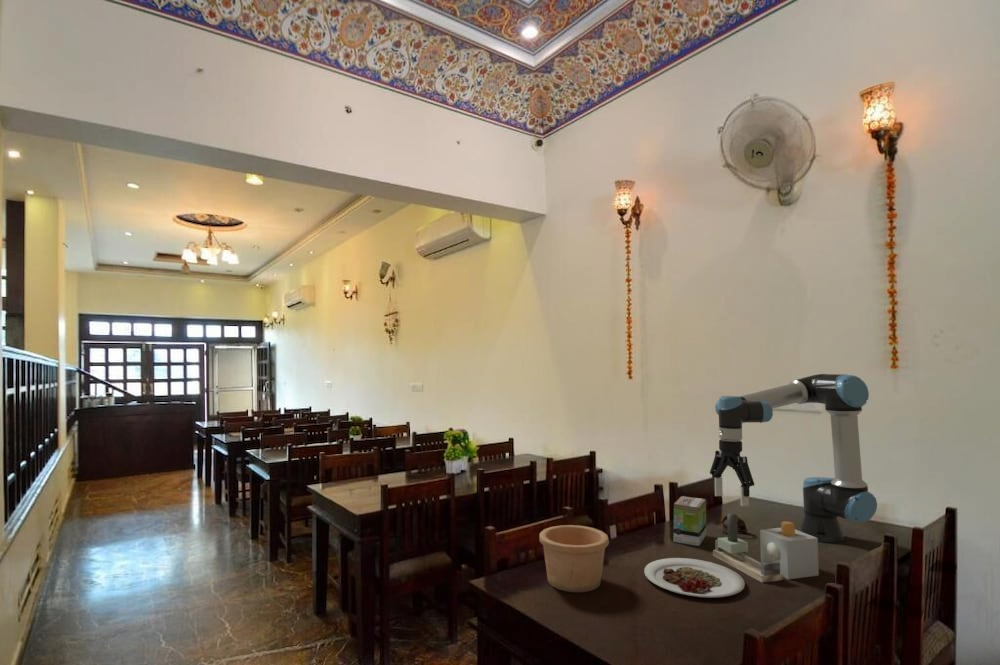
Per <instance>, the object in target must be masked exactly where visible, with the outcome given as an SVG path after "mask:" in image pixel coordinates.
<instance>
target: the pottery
mask: <svg viewBox="0 0 1000 665" xmlns="http://www.w3.org/2000/svg"><path fill="white" fill-rule="evenodd" d="M538 537H539V539H538V540H539V541H538V542H539V543H540V544H541V545H542V546H543V556H544V561H545V567H546V568H545V570H546V578H547V582H548V584H549V585H550V586H551V587H553V588H555V589H557V590H559V591H563V592H568V593H575V594H576V593H588V592H592V591H594V590H596V589H598V588H599V587H600V585H601V584H602V583H601V582H602V581H601V580H602V575H603V574H602V573H603V565H604V559H605V551H606V548H607V546H608V545H609V544H610V539H609V536H608V534H606V533H605V532H604V531H602V530H600V529H598V528H595V527H590V526H585V525H578V524H577V525H575V524H574V525H573V524H565V525H564V524H563V525H562V524H561V525H556V526H550V527H547V528H544V529H542V531H541V532H540V533H539V536H538Z"/></svg>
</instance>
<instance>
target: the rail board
mask: <svg viewBox="0 0 1000 665" xmlns="http://www.w3.org/2000/svg"><path fill="white" fill-rule="evenodd" d="M714 542H715V545H714V546H715V549H713V550H712V556H713V557H715V558H716V559H718V560H720V561H722V562H724V563H725V564H728V565H729V566H730V567H733V568H734V569H737V570H738V571H740V572H742V573H744V574H745V575H748V576H749V577H751V578H752V579H754V580H757V582H758V581H759V582H760V583H763V584H764V583H769V582H770V583H771V582H777V581H778V582H779V581H783V580H784V577H783V573H781V572H780V563H779V562H777V561H772V562H763V563H761V561H759V560H757V559H755V558H753V557H751V556H749V555H746V554H745V553H744V552H741V553H732V554H731V553H729V552H727V551H725V550H723V549H721V548H719V547H718V539H715V540H714Z"/></svg>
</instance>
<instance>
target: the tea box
mask: <svg viewBox="0 0 1000 665" xmlns="http://www.w3.org/2000/svg"><path fill="white" fill-rule="evenodd" d="M706 536H707V499H705V498H700V497H699V498H698V497H694V496H693V497H691V496H685V495H682V496H680V497H679V498H678V499H677V500H676V501H674V503H673V542H674V543H678V544H684V545H690V546H695V547H696V546H697V547H699V546H700V545H701V544H702V543H703V541H704V539H705V537H706Z"/></svg>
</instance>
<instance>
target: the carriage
mask: <svg viewBox="0 0 1000 665" xmlns="http://www.w3.org/2000/svg"><path fill="white" fill-rule="evenodd" d="M726 515H727V520H726V522H727V531H726V532H727V537H726V536H725V537H717V540H718V547H719V548H721V549H723V550H725V551H727V552H729V553H731V554H732V553H748V552H749V542H747V541H745V540H743V539H741V538H739V537H738V530H737V516H738V514H737V513H732V512H727V514H726Z"/></svg>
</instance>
